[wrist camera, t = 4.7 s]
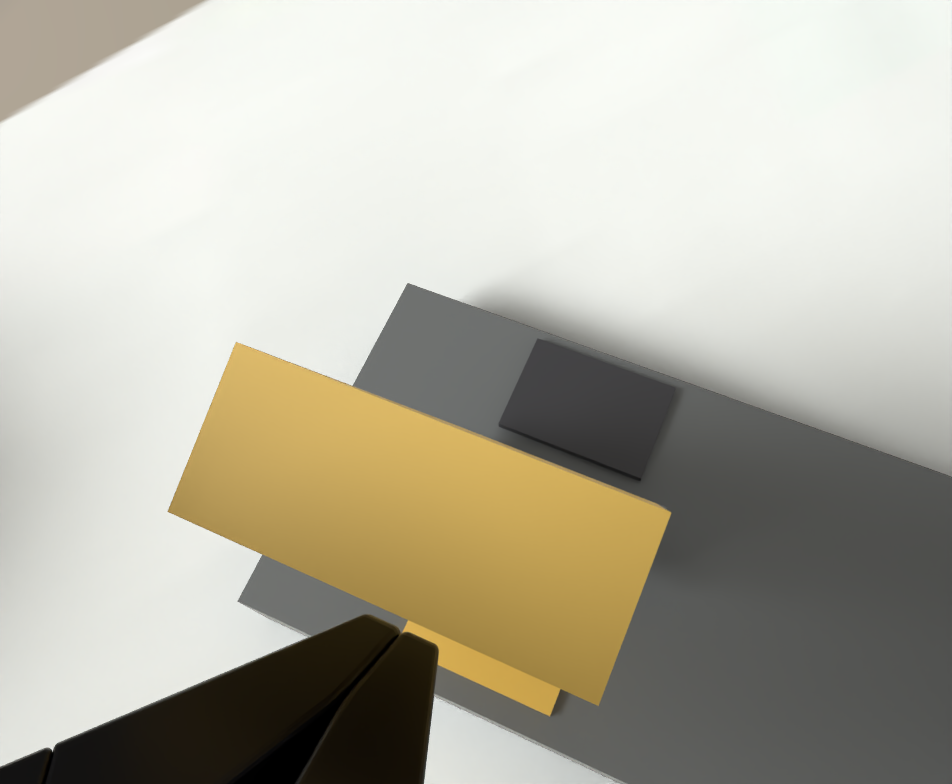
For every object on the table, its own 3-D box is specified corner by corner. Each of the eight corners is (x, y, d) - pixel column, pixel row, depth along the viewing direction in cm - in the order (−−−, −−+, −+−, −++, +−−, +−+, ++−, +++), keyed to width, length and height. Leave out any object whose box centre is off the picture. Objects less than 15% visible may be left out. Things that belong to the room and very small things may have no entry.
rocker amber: (636, 583, 17) (621, 717, 7) (434, 499, 18) (148, 503, 8) (665, 506, 17) (696, 521, 7) (462, 427, 18) (216, 334, 8)
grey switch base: (1352, 665, 18) (1456, 651, 16) (1323, 1113, 15) (1445, 1166, 13) (418, 323, 22) (406, 278, 20) (265, 617, 19) (234, 599, 17)
